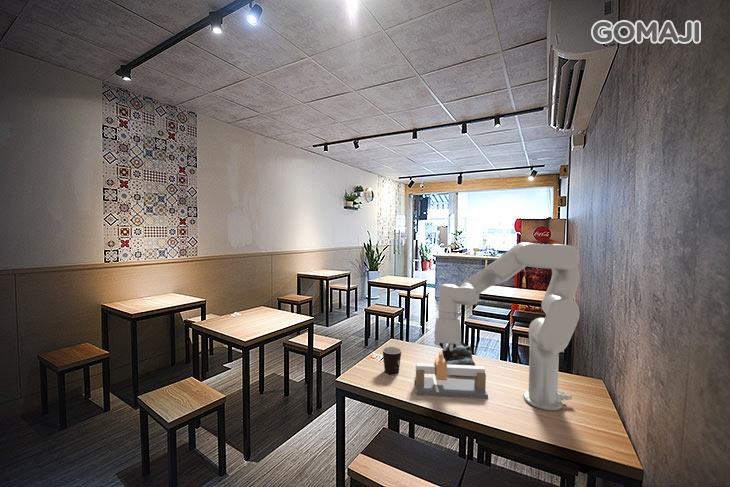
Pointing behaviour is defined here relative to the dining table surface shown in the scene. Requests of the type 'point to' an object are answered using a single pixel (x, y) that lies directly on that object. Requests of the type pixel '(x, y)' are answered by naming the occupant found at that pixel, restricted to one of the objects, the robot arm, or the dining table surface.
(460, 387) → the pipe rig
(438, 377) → the orange stepped block
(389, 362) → the coffee mug
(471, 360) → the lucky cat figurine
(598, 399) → the dining table surface
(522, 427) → the dining table surface
